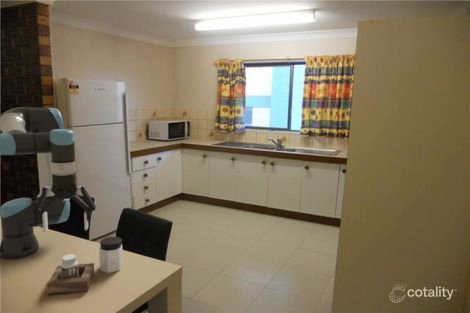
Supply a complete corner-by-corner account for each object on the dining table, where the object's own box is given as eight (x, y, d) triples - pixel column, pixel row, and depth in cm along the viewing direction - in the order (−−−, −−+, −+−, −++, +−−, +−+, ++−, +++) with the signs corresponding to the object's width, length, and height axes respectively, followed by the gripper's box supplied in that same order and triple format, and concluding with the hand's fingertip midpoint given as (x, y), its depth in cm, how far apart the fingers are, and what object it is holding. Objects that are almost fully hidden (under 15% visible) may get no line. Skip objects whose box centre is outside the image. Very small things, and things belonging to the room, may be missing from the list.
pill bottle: (81, 281, 121) (80, 257, 120) (65, 287, 117) (64, 262, 116) (75, 275, 125) (74, 251, 123) (59, 281, 121) (58, 256, 119)
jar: (102, 275, 128) (101, 246, 127) (98, 266, 135) (97, 239, 133) (125, 269, 133) (124, 242, 131) (120, 261, 140) (119, 234, 138)
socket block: (58, 276, 126) (57, 265, 125) (94, 273, 129) (93, 263, 129) (47, 295, 114) (46, 284, 113) (87, 292, 117) (87, 280, 116)
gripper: (19, 176, 108) (24, 235, 112) (99, 175, 115) (101, 231, 118) (28, 171, 116) (31, 227, 119) (102, 170, 122) (104, 224, 126)
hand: (66, 229), depth 119 cm, fingers open, 13 cm apart
